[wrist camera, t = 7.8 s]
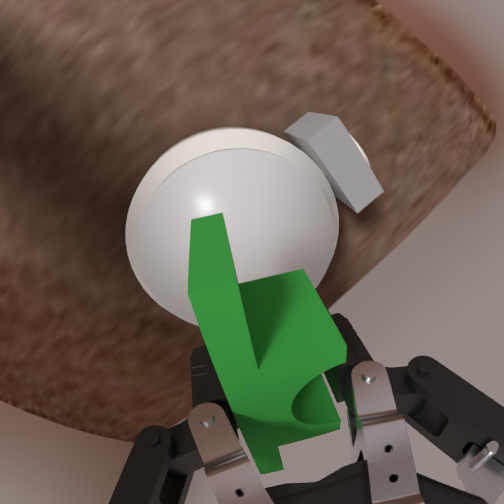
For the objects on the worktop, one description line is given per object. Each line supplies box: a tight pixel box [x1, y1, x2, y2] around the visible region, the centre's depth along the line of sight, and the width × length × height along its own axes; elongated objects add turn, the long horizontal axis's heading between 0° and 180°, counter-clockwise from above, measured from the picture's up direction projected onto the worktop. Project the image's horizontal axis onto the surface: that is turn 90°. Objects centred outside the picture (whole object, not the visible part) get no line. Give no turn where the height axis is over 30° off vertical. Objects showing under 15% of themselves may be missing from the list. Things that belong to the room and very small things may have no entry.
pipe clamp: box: [188, 212, 347, 474], centre depth 11 cm, size 11×4×5 cm, turn 9°
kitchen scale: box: [125, 112, 384, 326], centre depth 21 cm, size 18×15×5 cm
